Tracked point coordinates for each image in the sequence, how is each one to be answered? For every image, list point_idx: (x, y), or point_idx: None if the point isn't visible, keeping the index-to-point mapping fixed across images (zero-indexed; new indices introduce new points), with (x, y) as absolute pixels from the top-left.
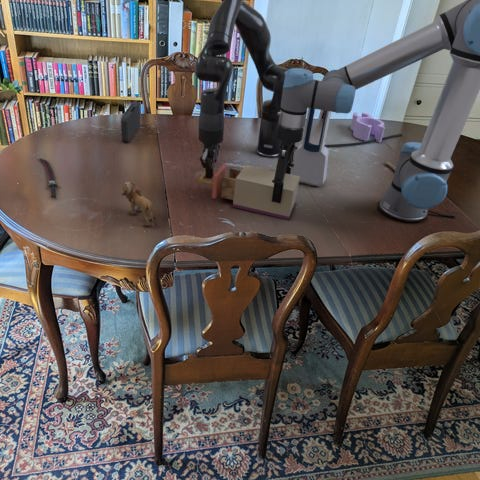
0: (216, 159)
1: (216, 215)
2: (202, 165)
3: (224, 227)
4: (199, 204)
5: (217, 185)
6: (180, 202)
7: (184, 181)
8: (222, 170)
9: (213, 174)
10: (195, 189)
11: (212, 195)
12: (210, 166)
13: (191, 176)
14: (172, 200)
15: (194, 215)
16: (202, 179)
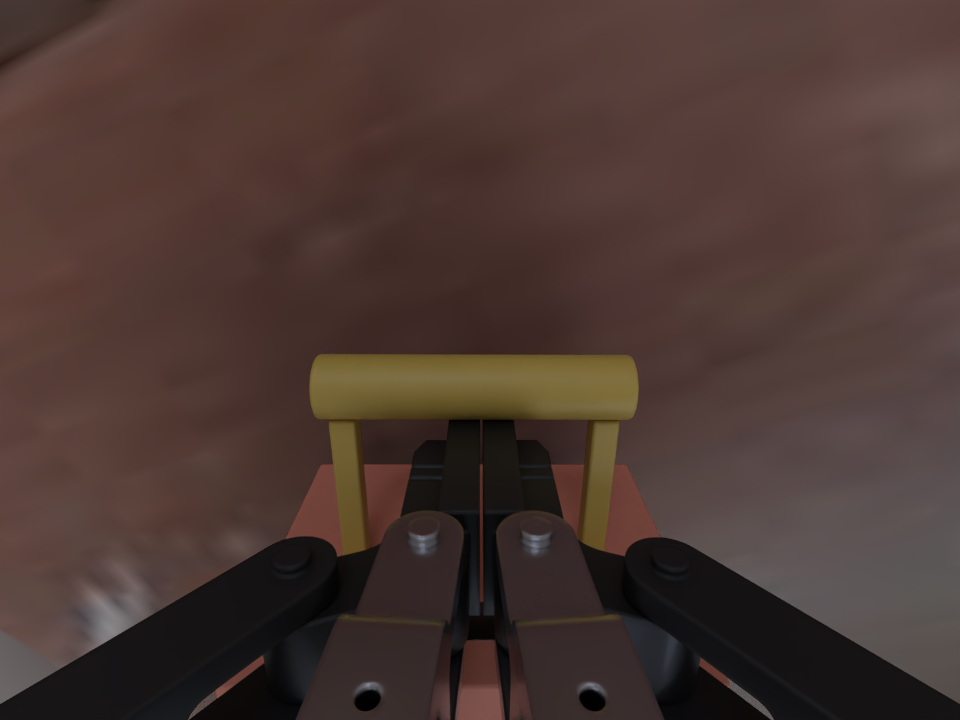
0: (688, 706)
1: (143, 536)
2: (179, 607)
3: (27, 623)
4: (226, 364)
5: None
6: (147, 178)
7: (656, 10)
8: (492, 716)
9: (587, 481)
10: (503, 220)
11: (312, 485)
12: (283, 711)
13: (827, 43)
14: (129, 72)
15: (20, 391)
16: (335, 420)
